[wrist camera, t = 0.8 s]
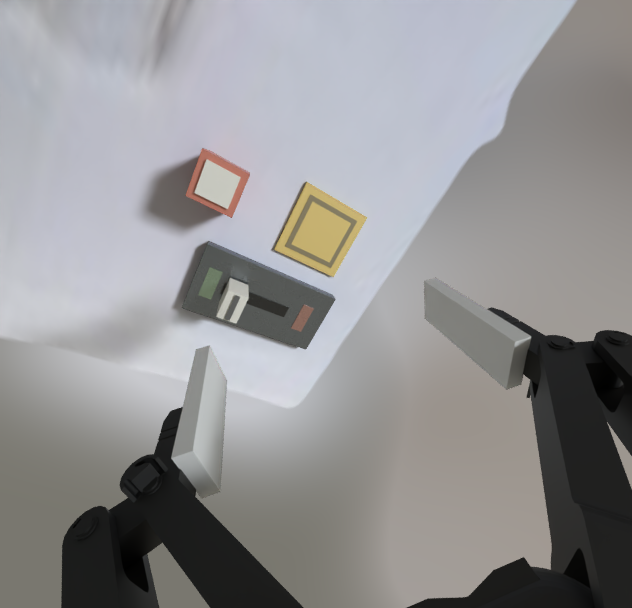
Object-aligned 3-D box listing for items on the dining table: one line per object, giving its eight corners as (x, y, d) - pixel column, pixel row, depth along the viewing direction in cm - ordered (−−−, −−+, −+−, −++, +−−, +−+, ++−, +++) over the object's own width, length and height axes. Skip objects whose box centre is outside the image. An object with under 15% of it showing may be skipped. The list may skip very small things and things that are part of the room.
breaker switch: (219, 302, 36) (216, 317, 33) (229, 277, 35) (228, 291, 32) (237, 308, 37) (236, 324, 34) (248, 285, 36) (248, 298, 32)
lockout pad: (274, 248, 37) (274, 249, 36) (306, 181, 34) (307, 182, 34) (332, 276, 40) (333, 277, 40) (366, 217, 38) (367, 217, 37)
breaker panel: (183, 302, 37) (181, 308, 36) (208, 240, 35) (207, 244, 33) (304, 343, 44) (306, 349, 43) (332, 294, 42) (335, 299, 40)
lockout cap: (195, 190, 32) (184, 196, 27) (209, 150, 31) (202, 147, 25) (234, 209, 34) (231, 218, 28) (249, 172, 32) (250, 174, 27)
